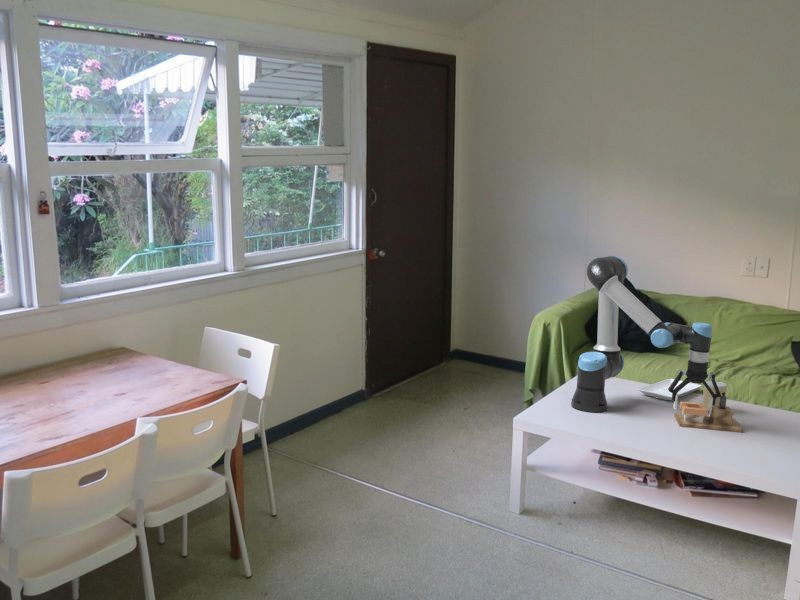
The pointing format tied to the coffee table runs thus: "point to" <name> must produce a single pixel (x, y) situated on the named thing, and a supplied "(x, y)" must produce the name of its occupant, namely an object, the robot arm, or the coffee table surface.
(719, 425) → the stand
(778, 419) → the coffee table surface
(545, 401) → the coffee table surface
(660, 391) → the tray
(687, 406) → the square frame
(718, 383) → the coffee cup
